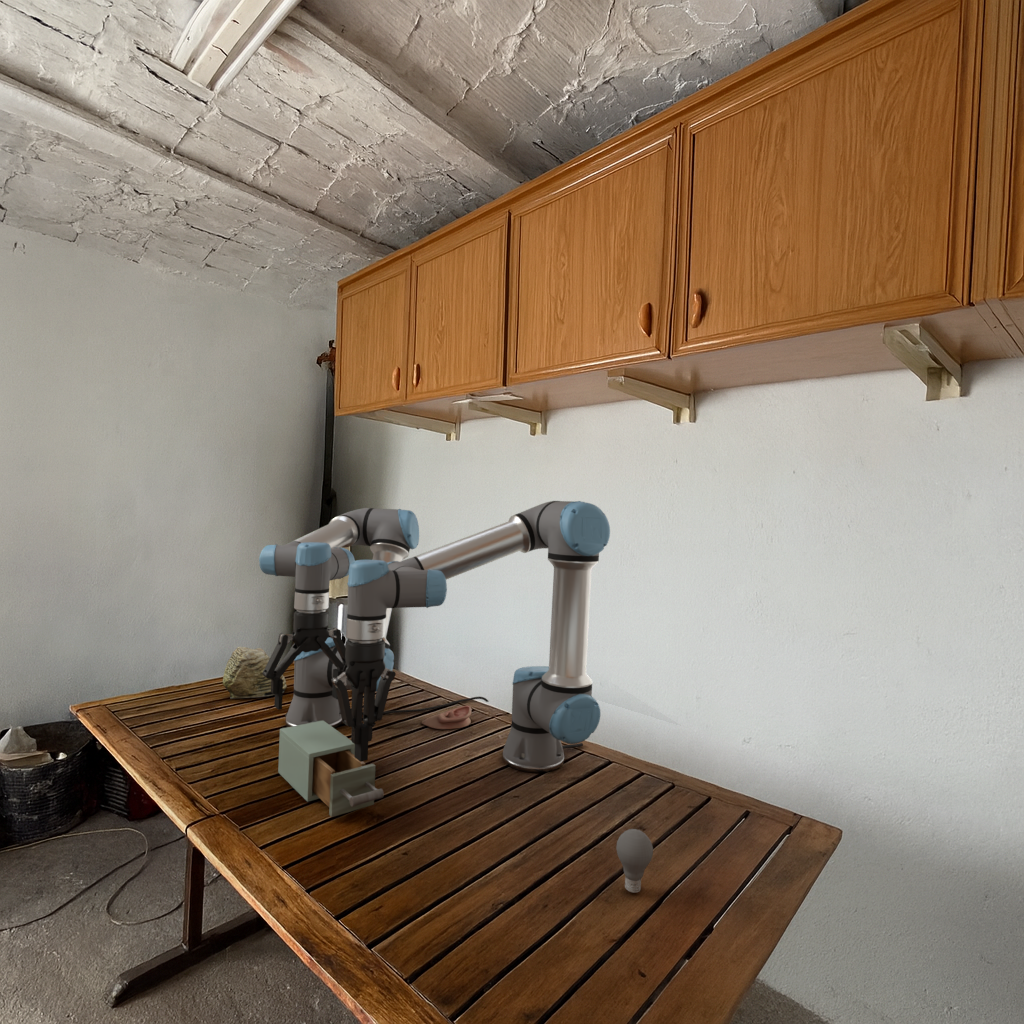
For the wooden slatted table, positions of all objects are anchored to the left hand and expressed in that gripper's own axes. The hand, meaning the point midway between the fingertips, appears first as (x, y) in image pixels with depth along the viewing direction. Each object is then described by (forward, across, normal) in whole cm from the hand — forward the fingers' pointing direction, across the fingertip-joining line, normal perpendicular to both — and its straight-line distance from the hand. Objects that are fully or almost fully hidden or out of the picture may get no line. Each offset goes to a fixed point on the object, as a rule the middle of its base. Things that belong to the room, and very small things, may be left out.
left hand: (307, 702), depth 145 cm
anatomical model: (+16, +45, +9) cm, 48 cm away
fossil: (+16, +8, +62) cm, 64 cm away
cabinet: (+16, 0, -5) cm, 17 cm away
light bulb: (+16, +27, -74) cm, 80 cm away
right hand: (+4, 0, -27) cm, 27 cm away
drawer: (+15, 0, -20) cm, 25 cm away
